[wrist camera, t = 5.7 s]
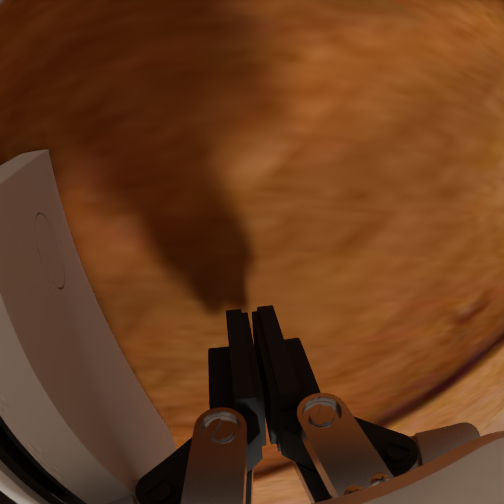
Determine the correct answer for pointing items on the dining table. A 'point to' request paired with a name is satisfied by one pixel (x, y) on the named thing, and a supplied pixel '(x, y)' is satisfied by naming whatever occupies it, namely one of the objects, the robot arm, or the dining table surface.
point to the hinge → (62, 361)
